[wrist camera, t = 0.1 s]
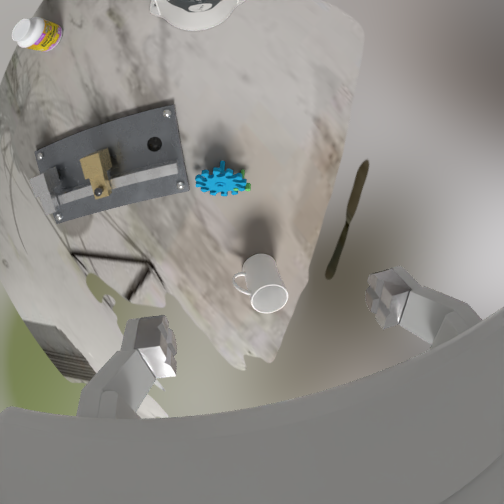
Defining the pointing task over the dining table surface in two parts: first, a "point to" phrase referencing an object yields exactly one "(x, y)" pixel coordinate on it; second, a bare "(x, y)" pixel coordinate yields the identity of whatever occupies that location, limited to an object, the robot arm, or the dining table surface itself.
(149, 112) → the bolt plate
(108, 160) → the block
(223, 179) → the gear
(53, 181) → the trammel bar
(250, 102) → the dining table surface
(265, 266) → the mug
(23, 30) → the supplement bottle
